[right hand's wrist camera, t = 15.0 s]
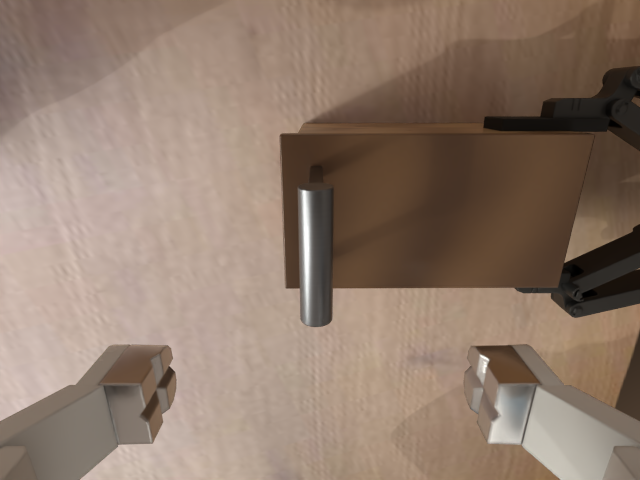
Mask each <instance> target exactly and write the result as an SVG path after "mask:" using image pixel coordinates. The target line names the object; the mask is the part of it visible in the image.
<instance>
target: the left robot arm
mask: <svg viewBox="0 0 640 480" xmlns="http://www.w3.org/2000/svg"><path fill="white" fill-rule="evenodd" d="M633 97H636V98H639V99H640V66H635V67H625V68H615V69H611V70H609V71H607V72H606V73H605V75H604V77H603V87H602V89H601V90H600V92H599V93H598V94H597V95H596V96H594V97H592V98H551V99H549V100H546V101H544V102H543V106H542V111H541V116H540V117H485V119H484V126H483V128H486V129H492V130H497V131H574V132H607V129H608V130H609V131H611V132H612V133H614V134H615V135H617V136H618V137H620V138H621V139H623V140H624V141H626V142H627V143H629V144H630V145H632V146H633V147H635V148H636V149H638V150H639V151H640V107H638V106H637V105H636V104H634V103H633V102H631V100H632V98H633ZM638 268H640V224H639V225H637V226H635V227H634V228H633V232H631V233H629V234H627V235H625V236H623V237H621V238H618V239H616V240H614V241H612V242H610V243H607V244H605V245H603V246H601V247H599V248H596V249H594V250H592V251H590V252H588V253H585V254H583V255H581V256H579V257H577V258H574V259H572V260H570V261H568V262H566V263H564V265H563V269H562V273H561V277H560V281H559V285H558V287H557V288H515V289H516V290H517V291H519V292H522V293H551V299H552V300H553V301H554V302H556V303H557V304H558V305H559V306H560V307H561V308H562V309H563V310H565V311H566V312H567V313H568V314H569V315H571V316H572V317H574V318H577V317H582V316H587V315H591V314H595V313H600V312H604V311H609V310H613V309H618V308H622V307H626V306H631V305H635V304H640V269H639V270H636V269H638Z"/></svg>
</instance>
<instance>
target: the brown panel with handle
mask: <svg viewBox="0 0 640 480" xmlns="http://www.w3.org/2000/svg"><path fill="white" fill-rule="evenodd" d="M594 137H595V135H594V134H588V133H282V134H281V135H280V159H281V186H282V214H283V241H284V269H285V288H300V317H301V321H302V322H303V323H304V324H305V325H307V326H311V327H321V326H325V325H327V324H329V323H330V322H331V321H332V305H333V288H557V287H558V285H559V281H560V277H561V273H562V269H563V265H564V261H565V256H566V252H567V248H568V244H569V240H570V236H571V232H572V228H573V224H574V219H575V215H576V211H577V207H578V203H579V199H580V195H581V191H582V187H583V182H584V178H585V174H586V170H587V166H588V162H589V158H590V154H591V150H592V145H593V141H594Z"/></svg>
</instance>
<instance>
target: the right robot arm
mask: <svg viewBox="0 0 640 480" xmlns="http://www.w3.org/2000/svg"><path fill="white" fill-rule="evenodd" d="M172 359H173V356H172V351H171V348H170V347H169V346H168V345H111V346H109V347H108V348H107V349H106V350H105V351H104V353H103V354H102V355H101V356H100V357H99V358H98V360H97V361H96V362H95V363H94V364H93V365H92V367H91V368H90V369H89V370H88V371H87V372H86V374H85V375H84V376H83V377H82V378H81V379H80V381H79V382H78V383H77V384H76V385H69V386H67V387H65V388H63V389H61V390H59V391H57V392H55V393H54V394H52V395H50V396H48V397H46V398H44V399H42V400H40V401H38V402H36V403H34V404H33V405H31V406H29V407H27V408H25V409H23V410H21V411H19V412H17V413H15V414H13V415H12V416H10V417H8V418H6V419H4V420H2V421H0V480H80V479H81V478H82V477H83V476H84V475H86V474H87V473H88V472H89V471H90V470H91V469H92V468H94V467H95V466H96V465H97V464H98V463H99V462H101V461H102V460H103V459H104V458H105V457H106V456H108V455H109V454H110V453H111V452H112V451H113V450H114V449H116V448H117V447H118V445H120V444H153V442H154V440H155V438H156V436H157V434H158V432H159V429H160V427H161V425H162V423H163V418H162V414H163V413H164V412H166V411H167V410H168V409H170V407H171V405H172V402H173V400H174V396H175V392H176V374H175V371H174V370H173V369H172V368H171V367H170V366H169V365H170V363H171V361H172ZM467 359H468V361H469V363H470V365H471V366H470V367H469V368H468V369H467V370H466V371H465V375H464V393H465V396H466V400H467V402H468V405H469V407H470V409H472V410H473V411H474V412H476V413H477V414H478V418H477V423H478V425H479V427H480V429H481V431H482V434H483V436H484V438H485V440H486V442H487V444H519V445H522V447H523V448H525V449H526V450H527V451H528V452H529V453H530V454H531V455H533V456H534V457H535V458H536V459H537V460H538V461H540V462H541V463H542V464H543V465H544V466H545V467H547V468H548V469H549V470H550V471H551V472H552V473H553V474H555V475H556V476H557V477H558V478H559V479H560V480H640V421H638V420H636V419H634V418H632V417H630V416H628V415H626V414H625V413H623V412H621V411H619V410H617V409H615V408H613V407H611V406H609V405H607V404H605V403H604V402H602V401H600V400H598V399H596V398H594V397H592V396H590V395H588V394H586V393H584V392H583V391H581V390H579V389H577V388H575V387H573V386H571V385H564V384H563V383H562V382H561V381H560V379H559V378H558V377H557V376H556V375H555V374H554V372H553V371H552V370H551V369H550V368H549V367H548V365H547V364H546V363H545V362H544V361H543V360H542V358H541V357H540V356H539V355H538V354H537V353H536V351H535V350H534V349H533V348H532V347H531V346H529V345H527V344H523V345H506V346H471V347H470V349H469V351H468V356H467Z"/></svg>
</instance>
